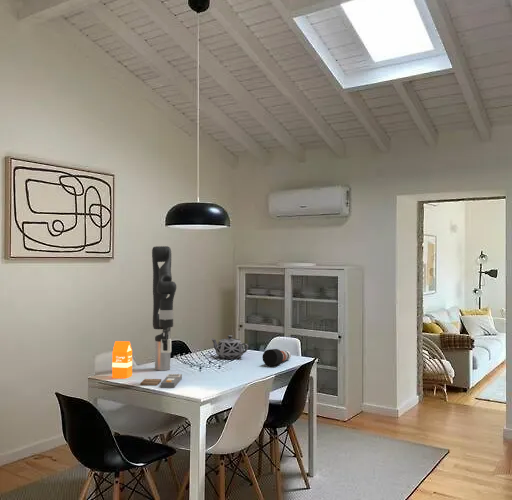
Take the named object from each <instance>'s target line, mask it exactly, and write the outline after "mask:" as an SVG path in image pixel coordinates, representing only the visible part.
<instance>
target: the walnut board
mask: <svg viewBox="0 0 512 500" xmlns="http://www.w3.org/2000/svg"><path fill="white" fill-rule="evenodd" d="M161 382H162V378H144V379H143V380H142V381H140V384H139V385H140V386H158V385H160V384H161Z"/></svg>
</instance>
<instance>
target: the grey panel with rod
mask: <svg viewBox="0 0 512 500" xmlns="http://www.w3.org/2000/svg"><path fill="white" fill-rule="evenodd" d="M182 378H183V374H182V373H180V374H179V373H169V374H167V375H166V377H164V379H163V380H161V382H160V388H163V389H164V388H167V389H175V388H176V386H177V385H178V384H179V383H180V382H181V381H182V380H183V379H182Z"/></svg>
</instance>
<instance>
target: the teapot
mask: <svg viewBox="0 0 512 500" xmlns="http://www.w3.org/2000/svg"><path fill="white" fill-rule="evenodd" d="M210 340H211V341H212V343H213V348H214V350H215V354H216V355H217V357H219V358H220V357H221V358H220V359H224V358H226V360H233V359H234V360H235V359H239V358H241V357H242V356H243V355H244V354H245V353H246V352H247V351H248V350H249V345H248V343H246V342H245V343H244V342H242V341H241V340H240V339H238V338H233V335H231V334H230V335H227V338H222V339H219V341H218V343H217V340H216V339H215V338H210ZM244 346H245V348H244Z"/></svg>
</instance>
